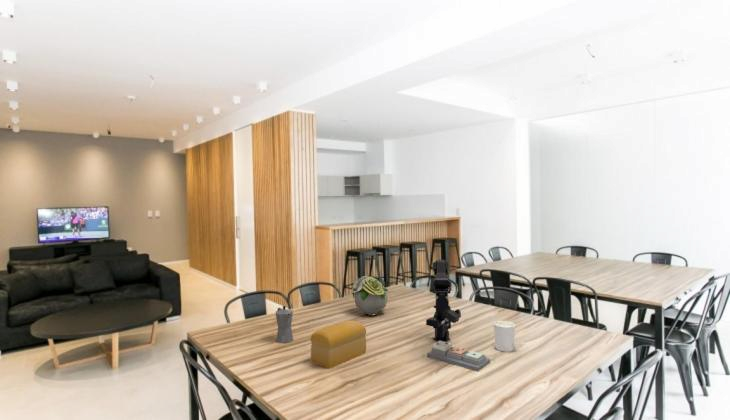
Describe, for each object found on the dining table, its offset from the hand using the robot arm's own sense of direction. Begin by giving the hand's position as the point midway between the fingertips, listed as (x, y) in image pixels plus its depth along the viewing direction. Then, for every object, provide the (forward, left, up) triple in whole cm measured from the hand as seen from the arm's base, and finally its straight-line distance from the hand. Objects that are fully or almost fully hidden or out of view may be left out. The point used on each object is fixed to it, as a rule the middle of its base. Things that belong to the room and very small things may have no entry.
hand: (442, 336), depth 184 cm
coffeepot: (-75, -34, -9) cm, 83 cm away
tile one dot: (+16, 0, -7) cm, 17 cm away
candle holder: (+19, +26, -9) cm, 33 cm away
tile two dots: (0, 0, -6) cm, 6 cm away
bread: (-36, -32, -9) cm, 49 cm away
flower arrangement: (-70, +31, -9) cm, 77 cm away
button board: (+8, 0, -8) cm, 12 cm away
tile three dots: (+8, 0, -7) cm, 11 cm away
